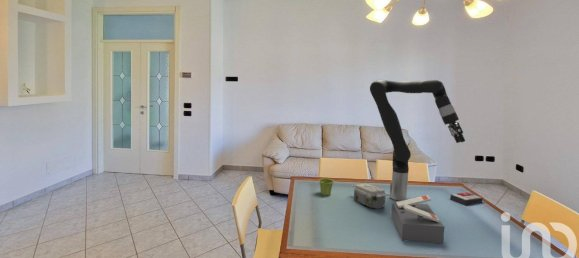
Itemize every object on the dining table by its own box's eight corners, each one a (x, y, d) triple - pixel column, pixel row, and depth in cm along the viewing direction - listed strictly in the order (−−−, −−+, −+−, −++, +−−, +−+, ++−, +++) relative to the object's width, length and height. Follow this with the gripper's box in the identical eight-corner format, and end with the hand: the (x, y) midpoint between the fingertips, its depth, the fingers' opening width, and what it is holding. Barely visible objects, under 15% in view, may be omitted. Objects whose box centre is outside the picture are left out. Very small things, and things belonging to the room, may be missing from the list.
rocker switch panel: (391, 216, 183) (392, 197, 182) (426, 218, 181) (427, 200, 179) (401, 240, 155) (403, 218, 154) (443, 243, 153) (445, 221, 152)
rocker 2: (402, 205, 163) (403, 203, 163) (434, 217, 162) (435, 215, 161) (405, 209, 157) (405, 207, 157) (438, 222, 156) (439, 220, 156)
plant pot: (334, 192, 219) (335, 179, 218) (331, 197, 211) (332, 183, 209) (320, 190, 222) (320, 178, 221) (316, 195, 214) (317, 181, 212)
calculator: (483, 197, 208) (466, 199, 201) (482, 204, 208) (465, 206, 202) (467, 191, 218) (450, 193, 211) (466, 198, 218) (449, 200, 212)
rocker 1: (396, 203, 178) (396, 201, 178) (427, 196, 176) (427, 194, 176) (398, 208, 172) (398, 206, 172) (430, 200, 170) (430, 198, 170)
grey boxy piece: (375, 212, 187) (375, 194, 186) (347, 198, 213) (348, 182, 212) (392, 209, 191) (393, 192, 190) (363, 196, 217) (364, 181, 217)
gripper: (438, 118, 192) (450, 145, 190) (444, 115, 178) (457, 144, 176) (451, 113, 191) (464, 140, 188) (458, 109, 177) (472, 138, 175)
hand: (460, 142), depth 182 cm, fingers open, 8 cm apart
